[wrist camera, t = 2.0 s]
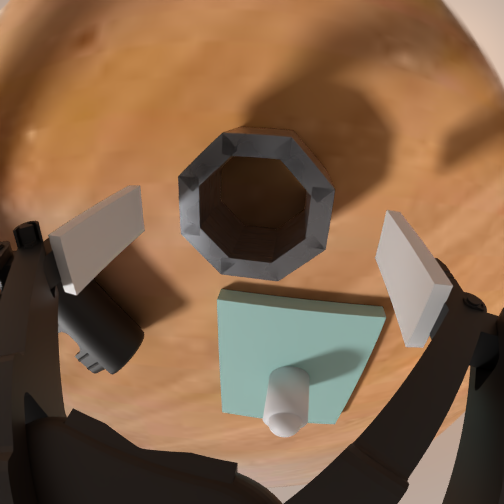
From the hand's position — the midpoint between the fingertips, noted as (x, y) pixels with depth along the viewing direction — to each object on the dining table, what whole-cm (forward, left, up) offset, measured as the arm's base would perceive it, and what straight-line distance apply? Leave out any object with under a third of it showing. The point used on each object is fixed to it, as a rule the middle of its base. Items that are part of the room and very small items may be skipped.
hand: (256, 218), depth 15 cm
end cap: (-16, -13, -6) cm, 22 cm away
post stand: (+4, -18, -6) cm, 19 cm away
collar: (0, 0, -6) cm, 6 cm away
